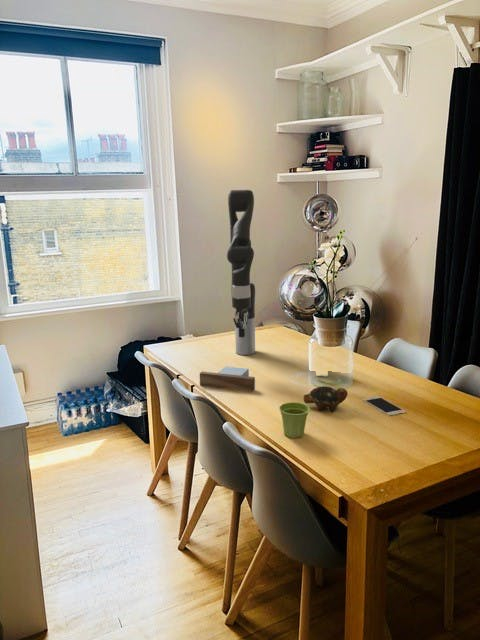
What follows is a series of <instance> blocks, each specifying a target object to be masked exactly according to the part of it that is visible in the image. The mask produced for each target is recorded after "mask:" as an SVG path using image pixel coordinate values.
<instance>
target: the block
mask: <svg viewBox="0 0 480 640" xmlns="http://www.w3.org/2000/svg"><path fill="white" fill-rule="evenodd" d="M249 370H250V369H249V368H245V367H237V366H236V367H234V366H224V367H223V368H222V369H220V370H219V371H217V373H222V374H231V375H240V376H249V377H250V375H249V374H250V372H249Z"/></svg>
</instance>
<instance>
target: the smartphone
mask: <svg viewBox="0 0 480 640" xmlns="http://www.w3.org/2000/svg"><path fill="white" fill-rule="evenodd" d="M362 401H363V402H364V401H365V403H366V402H367V403H366V404H368V403H369V404H370V405H369V404H368V405H369V406H371V405H372V406H371V407H373V406H374V407H376V408H377V409H376V408H375V409H376V410H378V409H379V410H381V411H382V412H381V411H380V412H381V413H383V412H384V413H386V414H388V415H393V414H397V413H403V412H406V413H407V411H406V410H404V409H403V408H401V407H399V406H398V405H395V404H393V403H392V402H390V401H388V400H386V399H384V398H382V397H380V396H373V397H367V398H362ZM374 407H373V408H374ZM379 410H378V411H379ZM402 410H403V411H402ZM384 413H383V414H384ZM386 414H385V415H386ZM388 415H387V416H388Z"/></svg>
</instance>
